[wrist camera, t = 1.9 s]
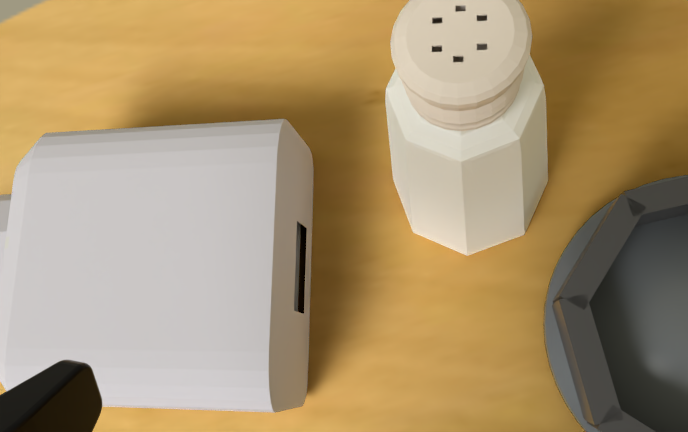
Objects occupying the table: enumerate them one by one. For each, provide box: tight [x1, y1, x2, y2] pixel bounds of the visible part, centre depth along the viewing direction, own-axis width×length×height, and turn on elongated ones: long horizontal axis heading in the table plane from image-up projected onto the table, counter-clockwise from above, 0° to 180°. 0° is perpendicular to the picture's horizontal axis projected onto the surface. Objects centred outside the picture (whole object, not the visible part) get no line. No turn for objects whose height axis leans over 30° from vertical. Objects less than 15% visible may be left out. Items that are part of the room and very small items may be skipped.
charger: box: [0, 119, 314, 412], centre depth 23 cm, size 5×9×15 cm
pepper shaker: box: [385, 0, 548, 256], centre depth 18 cm, size 5×5×11 cm
